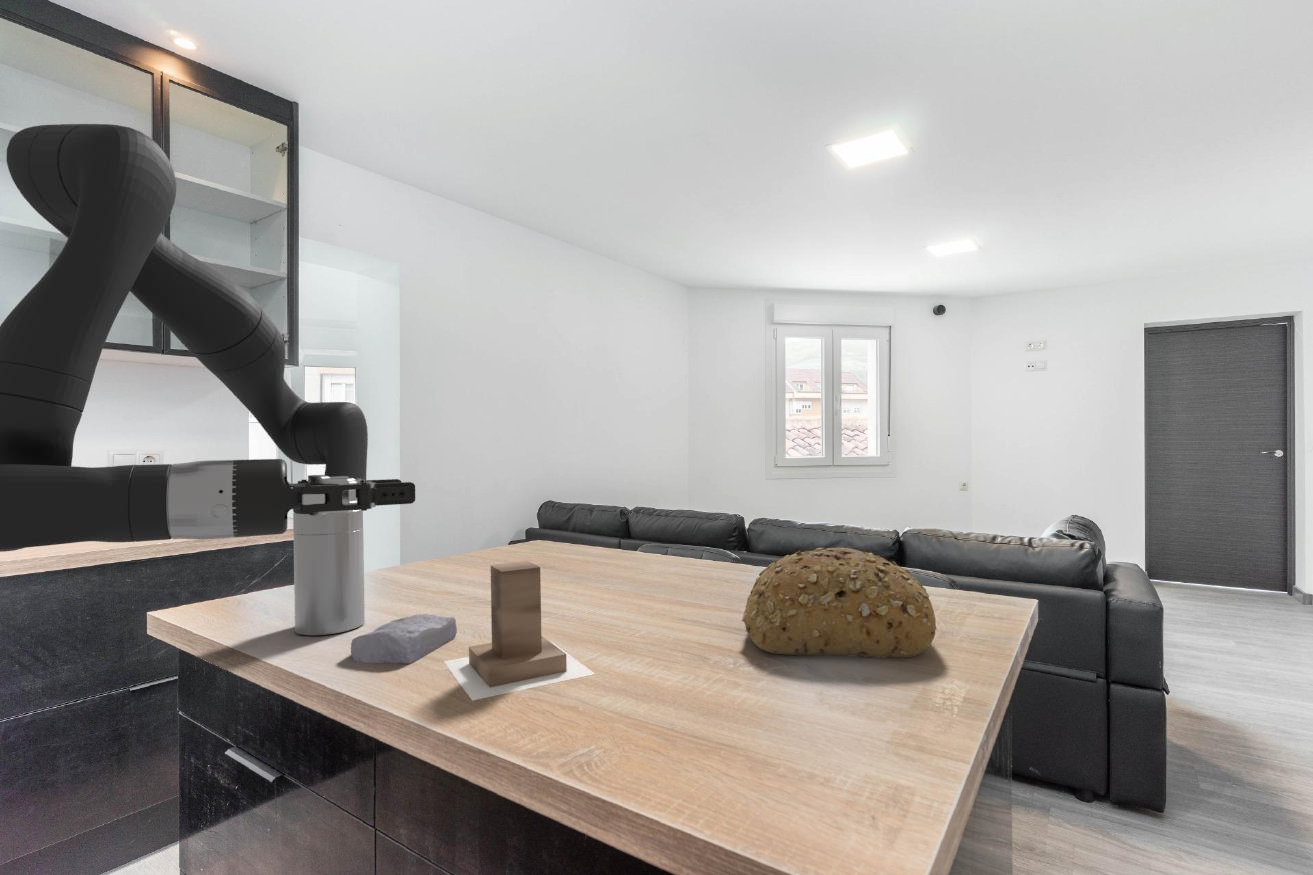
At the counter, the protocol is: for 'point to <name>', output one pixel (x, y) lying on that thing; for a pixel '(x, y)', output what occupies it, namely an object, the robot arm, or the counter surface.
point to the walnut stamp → (516, 629)
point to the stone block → (404, 639)
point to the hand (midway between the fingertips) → (407, 490)
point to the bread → (839, 606)
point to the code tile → (481, 690)
